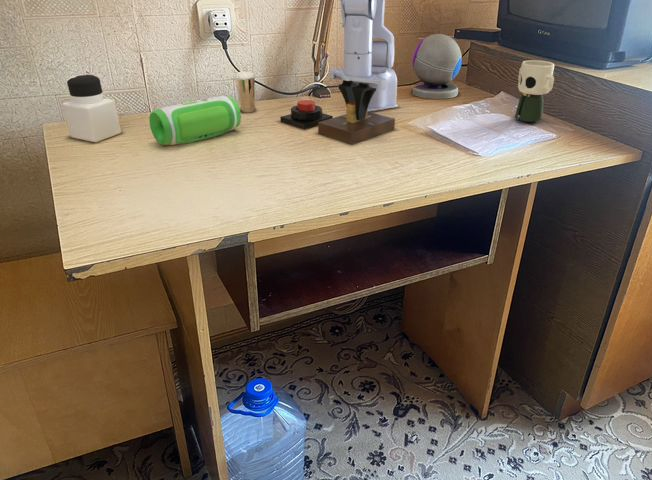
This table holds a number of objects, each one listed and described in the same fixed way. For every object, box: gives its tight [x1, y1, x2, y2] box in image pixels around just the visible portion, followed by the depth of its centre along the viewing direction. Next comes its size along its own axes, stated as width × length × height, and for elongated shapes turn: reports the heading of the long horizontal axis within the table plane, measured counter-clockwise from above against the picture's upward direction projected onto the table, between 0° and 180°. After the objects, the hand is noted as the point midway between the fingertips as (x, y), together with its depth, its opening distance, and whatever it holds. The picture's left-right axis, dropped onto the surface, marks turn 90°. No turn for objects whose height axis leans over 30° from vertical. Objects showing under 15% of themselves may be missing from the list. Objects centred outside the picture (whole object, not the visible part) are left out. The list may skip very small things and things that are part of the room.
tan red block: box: [346, 102, 367, 123], centre depth 118 cm, size 5×2×4 cm, turn 138°
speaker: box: [149, 95, 242, 146], centre depth 113 cm, size 18×7×8 cm, turn 134°
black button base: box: [280, 104, 334, 130], centre depth 125 cm, size 9×8×3 cm
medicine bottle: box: [61, 74, 122, 143], centre depth 112 cm, size 7×7×12 cm
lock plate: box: [317, 111, 396, 145], centre depth 119 cm, size 14×10×3 cm
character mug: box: [514, 59, 555, 123], centre depth 126 cm, size 11×7×13 cm, turn 26°
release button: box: [296, 99, 316, 111], centre depth 124 cm, size 4×4×2 cm
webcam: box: [412, 33, 463, 100], centre depth 146 cm, size 13×13×15 cm
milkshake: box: [234, 64, 256, 113], centre depth 130 cm, size 4×5×10 cm
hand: (356, 118), depth 119 cm, fingers closed on tan red block, 2 cm apart
